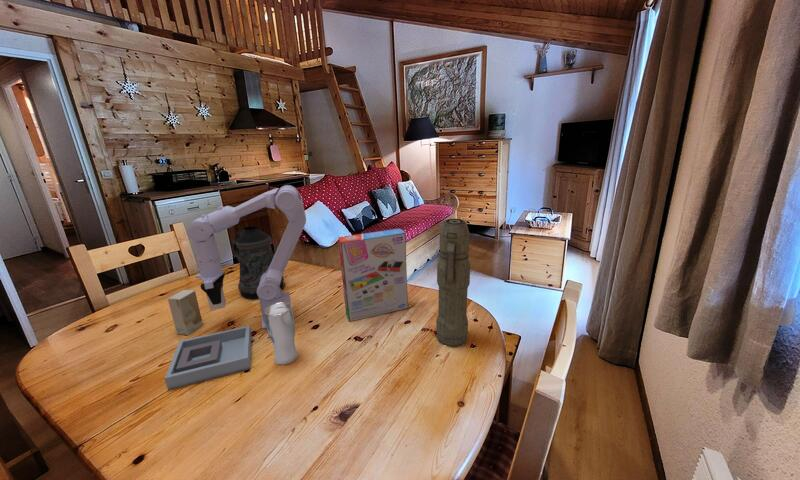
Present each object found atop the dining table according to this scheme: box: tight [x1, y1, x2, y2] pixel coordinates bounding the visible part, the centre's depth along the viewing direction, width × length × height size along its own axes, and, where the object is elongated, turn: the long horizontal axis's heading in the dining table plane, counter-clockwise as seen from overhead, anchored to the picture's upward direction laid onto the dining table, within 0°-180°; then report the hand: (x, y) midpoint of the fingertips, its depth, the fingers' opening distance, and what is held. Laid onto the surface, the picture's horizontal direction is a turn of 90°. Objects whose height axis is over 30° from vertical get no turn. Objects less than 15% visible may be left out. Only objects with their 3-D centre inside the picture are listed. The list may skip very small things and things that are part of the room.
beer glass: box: [264, 302, 299, 366], centre depth 86 cm, size 7×7×15 cm
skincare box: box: [167, 289, 204, 336], centre depth 101 cm, size 6×4×12 cm
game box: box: [337, 228, 409, 323], centre depth 105 cm, size 21×6×27 cm, turn 110°
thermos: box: [435, 218, 471, 348], centre depth 89 cm, size 9×12×35 cm
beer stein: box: [231, 226, 285, 301], centre depth 123 cm, size 16×19×25 cm
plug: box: [205, 287, 227, 312], centre depth 99 cm, size 4×4×7 cm
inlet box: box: [164, 325, 253, 391], centre depth 88 cm, size 18×16×4 cm
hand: (217, 300), depth 99 cm, fingers closed on plug, 4 cm apart
